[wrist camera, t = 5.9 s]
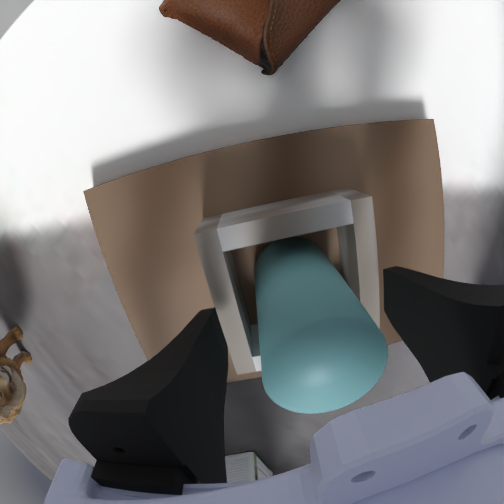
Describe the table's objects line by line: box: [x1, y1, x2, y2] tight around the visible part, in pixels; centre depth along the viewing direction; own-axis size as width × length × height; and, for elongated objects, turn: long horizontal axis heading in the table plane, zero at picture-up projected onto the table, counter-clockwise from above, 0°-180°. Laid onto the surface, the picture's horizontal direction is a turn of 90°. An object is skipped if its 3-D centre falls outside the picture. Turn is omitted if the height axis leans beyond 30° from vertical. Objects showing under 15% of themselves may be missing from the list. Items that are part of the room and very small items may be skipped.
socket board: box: [83, 119, 444, 382], centre depth 15 cm, size 20×14×4 cm
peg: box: [254, 236, 388, 414], centre depth 12 cm, size 4×4×8 cm
